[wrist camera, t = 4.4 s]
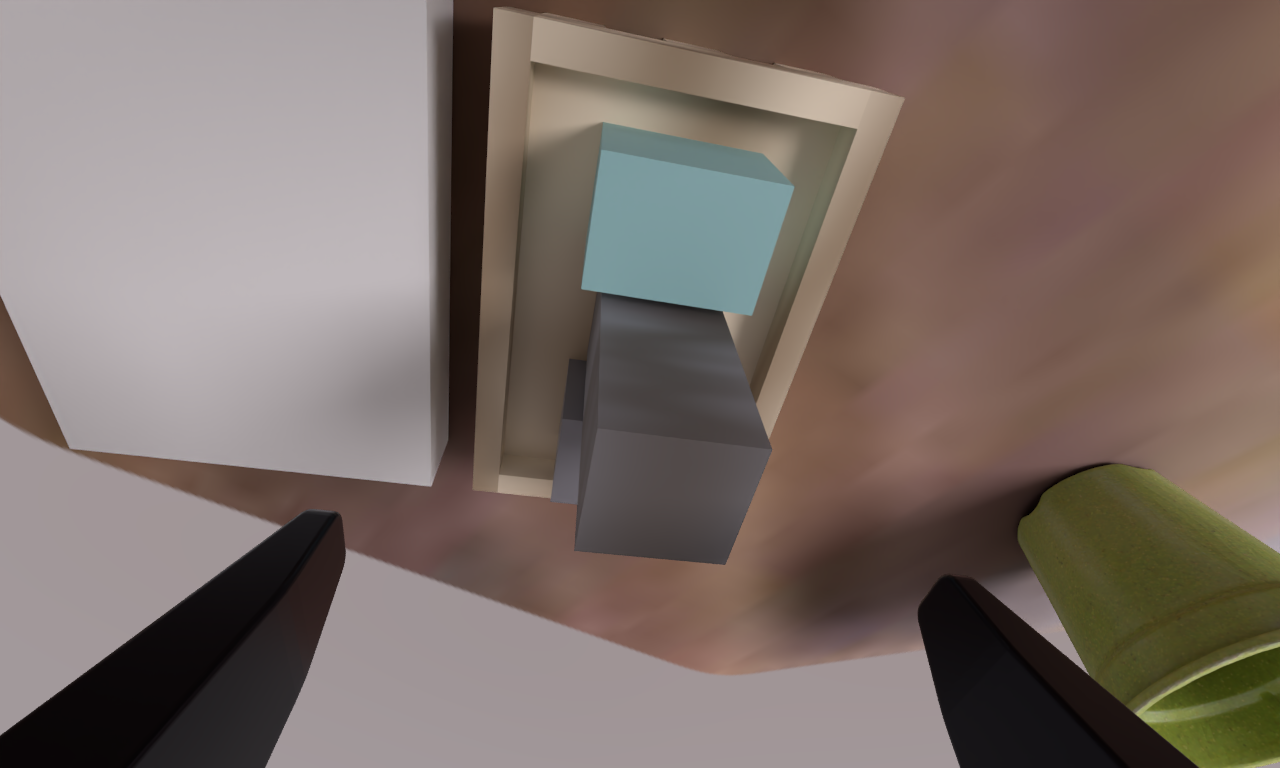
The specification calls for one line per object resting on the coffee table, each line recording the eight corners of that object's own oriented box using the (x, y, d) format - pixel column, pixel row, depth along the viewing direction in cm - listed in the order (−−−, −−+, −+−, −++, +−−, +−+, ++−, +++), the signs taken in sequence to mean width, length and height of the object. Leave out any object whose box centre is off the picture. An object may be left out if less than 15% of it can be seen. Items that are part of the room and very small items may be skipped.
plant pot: (1212, 527, 27) (1436, 725, 19) (1005, 605, 29) (1135, 803, 22) (1192, 391, 22) (1475, 582, 15) (950, 496, 25) (1090, 702, 18)
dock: (453, -48, 14) (425, -57, 12) (448, 439, 22) (431, 486, 20) (-84, -173, 12) (-227, -208, 10) (125, 402, 20) (69, 448, 18)
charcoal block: (698, 376, 18) (712, 437, 15) (676, 449, 20) (686, 515, 17) (569, 358, 17) (562, 418, 15) (558, 435, 19) (550, 501, 17)
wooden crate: (850, 79, 16) (1118, 170, 7) (721, 451, 23) (784, 709, 15) (516, 5, 15) (392, 16, 6) (490, 424, 22) (417, 688, 13)
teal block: (762, 153, 14) (794, 186, 12) (730, 265, 16) (752, 315, 13) (603, 121, 14) (601, 149, 11) (585, 242, 15) (580, 289, 13)
